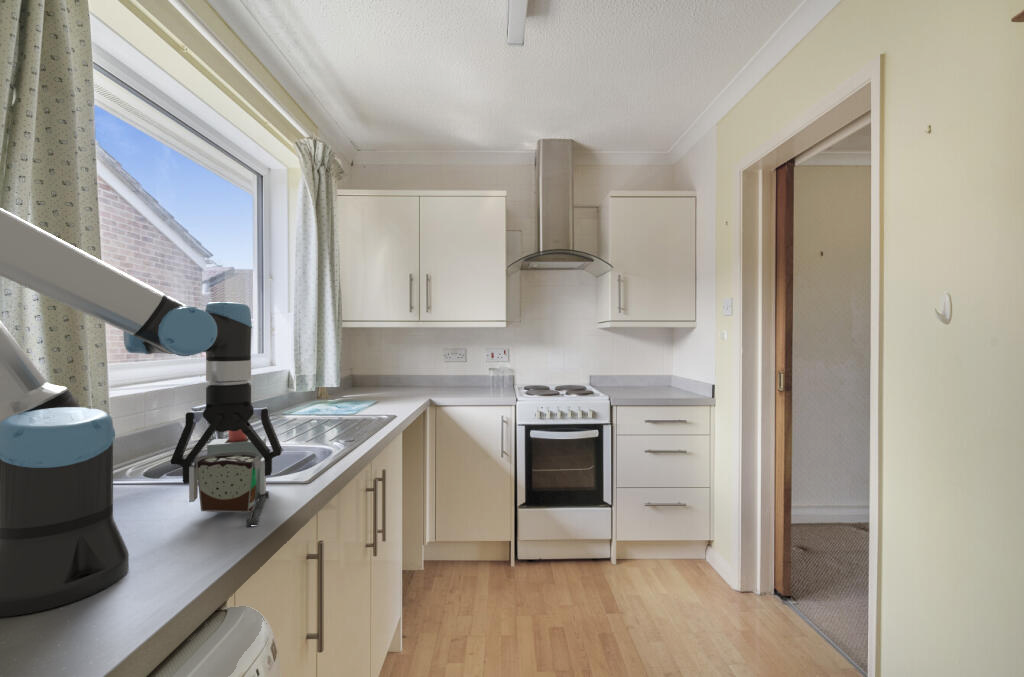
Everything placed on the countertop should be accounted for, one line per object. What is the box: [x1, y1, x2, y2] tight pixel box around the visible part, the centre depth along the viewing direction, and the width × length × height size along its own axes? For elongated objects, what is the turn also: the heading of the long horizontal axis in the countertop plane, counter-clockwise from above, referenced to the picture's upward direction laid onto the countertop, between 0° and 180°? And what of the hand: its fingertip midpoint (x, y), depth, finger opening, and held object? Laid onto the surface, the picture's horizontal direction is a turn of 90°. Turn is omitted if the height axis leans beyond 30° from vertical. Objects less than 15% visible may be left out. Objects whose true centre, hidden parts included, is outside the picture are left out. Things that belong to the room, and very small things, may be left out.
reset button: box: [227, 429, 247, 442], centre depth 100 cm, size 3×3×2 cm
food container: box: [193, 451, 262, 513], centre depth 90 cm, size 12×6×10 cm, turn 86°
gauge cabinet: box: [206, 435, 267, 500], centre depth 99 cm, size 10×6×12 cm, turn 111°
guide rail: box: [245, 490, 270, 527], centre depth 92 cm, size 2×17×1 cm, turn 22°
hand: (229, 496), depth 91 cm, fingers closed on food container, 11 cm apart
